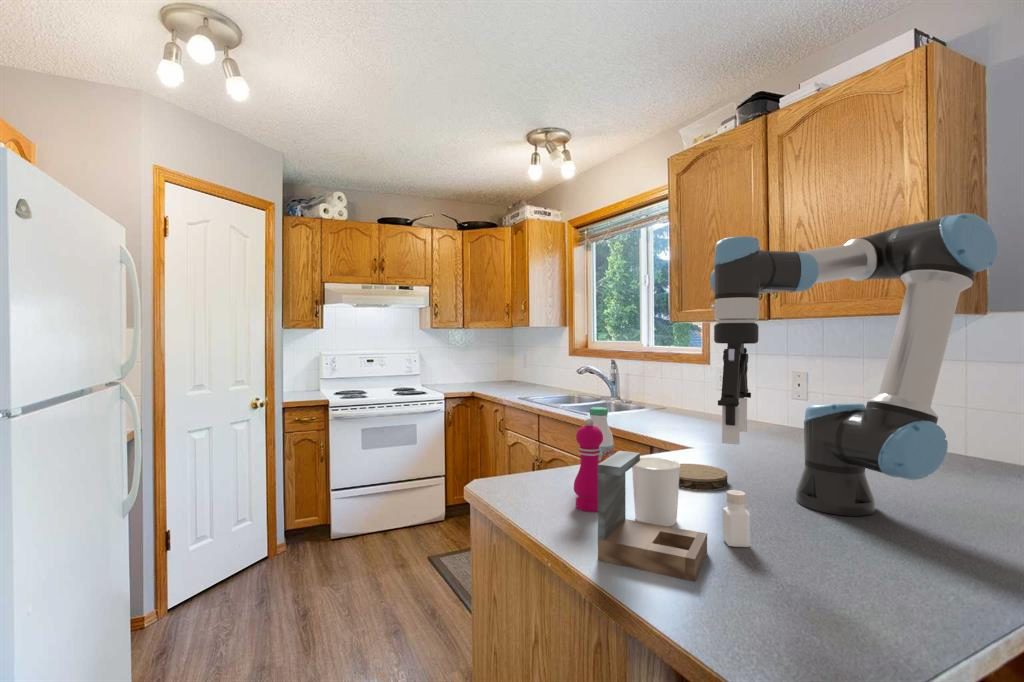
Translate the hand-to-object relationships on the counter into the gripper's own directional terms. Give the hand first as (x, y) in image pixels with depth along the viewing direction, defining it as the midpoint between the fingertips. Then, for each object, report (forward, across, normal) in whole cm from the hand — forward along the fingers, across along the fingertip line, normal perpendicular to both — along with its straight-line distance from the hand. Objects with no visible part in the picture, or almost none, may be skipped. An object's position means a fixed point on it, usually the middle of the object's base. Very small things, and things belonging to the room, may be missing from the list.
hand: (735, 437), depth 95 cm
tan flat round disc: (+20, -39, -14) cm, 46 cm away
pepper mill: (+20, -6, -31) cm, 37 cm away
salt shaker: (+20, 0, 0) cm, 20 cm away
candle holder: (+20, -5, -16) cm, 26 cm away
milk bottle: (+20, -23, -35) cm, 46 cm away
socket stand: (+20, +13, -12) cm, 26 cm away
